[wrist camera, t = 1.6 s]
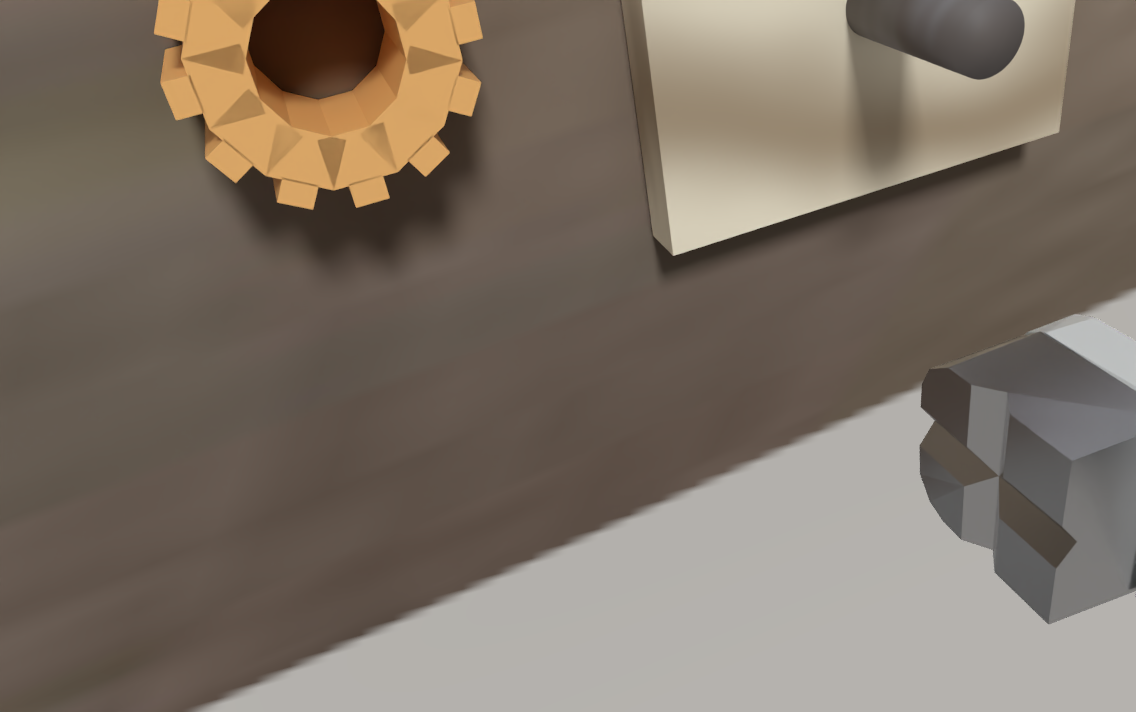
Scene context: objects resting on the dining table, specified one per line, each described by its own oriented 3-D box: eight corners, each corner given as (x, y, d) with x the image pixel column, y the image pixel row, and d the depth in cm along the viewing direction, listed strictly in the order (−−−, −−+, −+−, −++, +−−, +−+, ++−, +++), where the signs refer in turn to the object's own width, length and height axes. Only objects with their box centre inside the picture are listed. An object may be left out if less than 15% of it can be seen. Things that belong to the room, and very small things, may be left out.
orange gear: (225, 198, 24) (228, 245, 21) (108, -90, 20) (95, -72, 18) (480, 126, 25) (510, 162, 22) (413, -159, 21) (441, -152, 19)
